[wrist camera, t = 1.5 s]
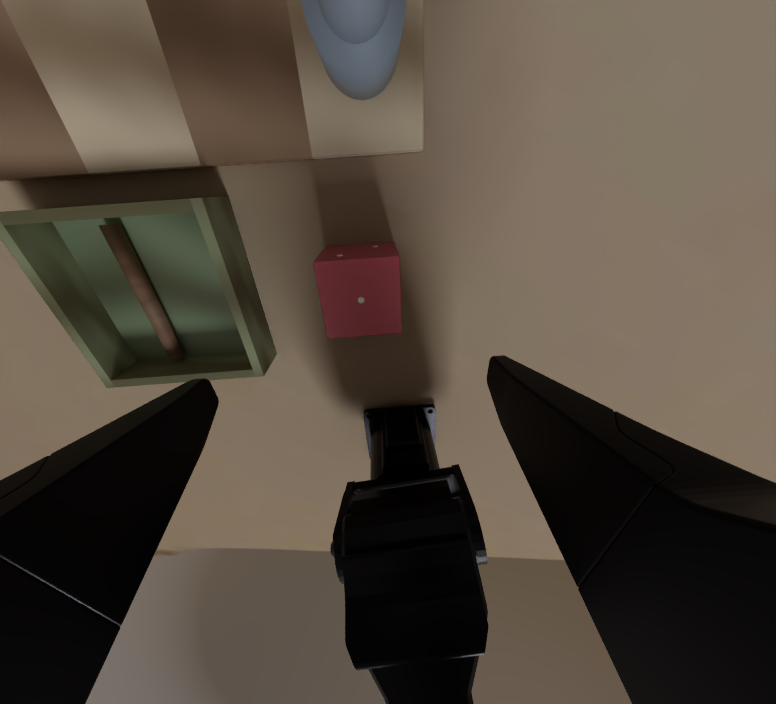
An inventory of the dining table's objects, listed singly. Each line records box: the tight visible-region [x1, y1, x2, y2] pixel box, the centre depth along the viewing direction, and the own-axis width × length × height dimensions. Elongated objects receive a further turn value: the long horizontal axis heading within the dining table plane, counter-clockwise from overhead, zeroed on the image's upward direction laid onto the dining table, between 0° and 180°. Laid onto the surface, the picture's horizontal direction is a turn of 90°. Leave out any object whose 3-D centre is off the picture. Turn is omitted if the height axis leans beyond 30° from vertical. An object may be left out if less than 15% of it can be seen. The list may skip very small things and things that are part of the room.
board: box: [0, 0, 424, 181], centre depth 13 cm, size 8×24×1 cm, turn 93°
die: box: [313, 242, 402, 339], centre depth 18 cm, size 4×4×4 cm
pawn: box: [302, 0, 406, 100], centre depth 11 cm, size 4×4×6 cm
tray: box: [0, 196, 277, 388], centre depth 18 cm, size 11×11×3 cm
